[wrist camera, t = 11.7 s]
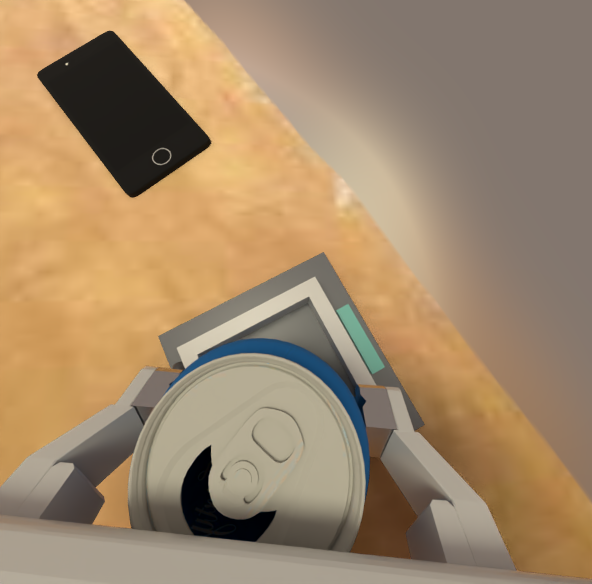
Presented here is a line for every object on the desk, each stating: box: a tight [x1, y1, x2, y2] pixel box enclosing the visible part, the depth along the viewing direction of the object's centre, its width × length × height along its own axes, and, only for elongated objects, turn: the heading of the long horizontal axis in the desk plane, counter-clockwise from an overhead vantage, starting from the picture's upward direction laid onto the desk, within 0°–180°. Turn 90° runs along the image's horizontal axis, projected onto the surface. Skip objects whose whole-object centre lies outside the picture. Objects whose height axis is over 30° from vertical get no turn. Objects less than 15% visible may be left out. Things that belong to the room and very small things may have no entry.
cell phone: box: [37, 31, 211, 197], centre depth 24 cm, size 9×18×1 cm, turn 40°
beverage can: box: [128, 338, 370, 552], centre depth 12 cm, size 6×6×12 cm
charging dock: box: [158, 252, 425, 431], centre depth 17 cm, size 14×14×3 cm
